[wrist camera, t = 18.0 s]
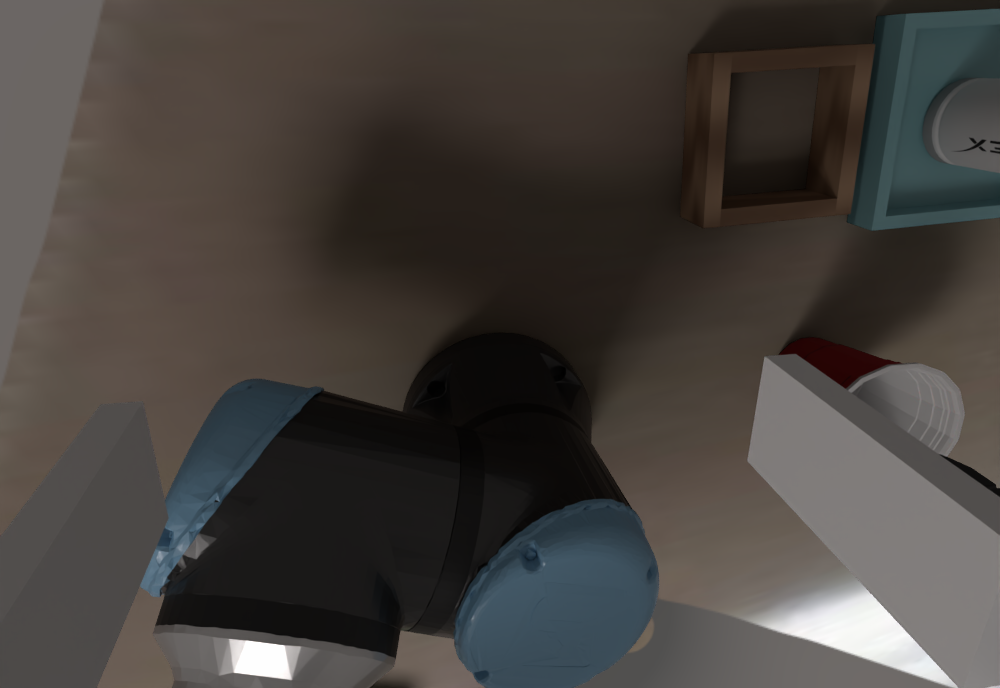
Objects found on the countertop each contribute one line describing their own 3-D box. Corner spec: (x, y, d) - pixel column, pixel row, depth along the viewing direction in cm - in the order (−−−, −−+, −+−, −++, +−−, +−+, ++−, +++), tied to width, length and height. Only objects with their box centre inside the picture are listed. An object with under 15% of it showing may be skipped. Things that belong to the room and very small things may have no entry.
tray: (1010, 205, 58) (1042, 213, 55) (846, 222, 56) (871, 230, 53) (1057, 6, 52) (1096, 3, 49) (876, 16, 50) (906, 13, 47)
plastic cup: (762, 301, 57) (856, 359, 46) (874, 314, 60) (988, 371, 49) (726, 418, 61) (805, 497, 50) (833, 425, 63) (930, 502, 52)
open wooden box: (818, 203, 55) (850, 213, 51) (680, 216, 53) (703, 228, 49) (838, 44, 50) (875, 43, 46) (688, 53, 48) (714, 53, 45)
